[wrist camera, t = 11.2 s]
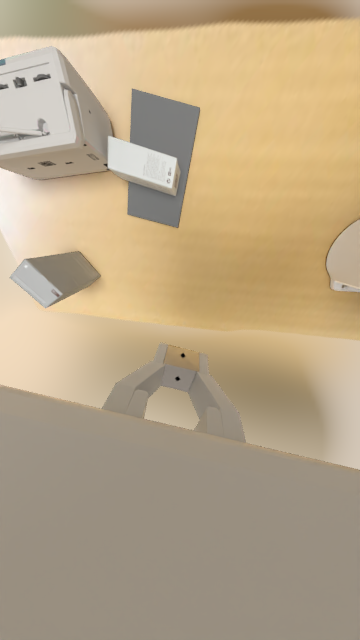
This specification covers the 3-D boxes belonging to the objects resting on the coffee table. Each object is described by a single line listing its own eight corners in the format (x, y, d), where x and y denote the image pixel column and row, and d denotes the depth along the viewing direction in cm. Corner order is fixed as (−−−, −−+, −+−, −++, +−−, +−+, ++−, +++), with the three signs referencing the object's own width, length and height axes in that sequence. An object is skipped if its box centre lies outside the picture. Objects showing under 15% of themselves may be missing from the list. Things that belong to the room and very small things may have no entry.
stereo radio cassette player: (112, 115, 28) (-31, -82, 10) (123, 175, 32) (33, 104, 14) (16, 133, 30) (-226, -1, 13) (37, 186, 34) (-125, 137, 17)
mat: (199, 110, 26) (199, 107, 26) (177, 227, 35) (177, 227, 35) (133, 91, 26) (132, 88, 25) (128, 214, 35) (127, 214, 34)
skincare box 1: (66, 263, 43) (4, 277, 29) (81, 248, 40) (20, 256, 26) (89, 288, 46) (42, 311, 32) (104, 276, 43) (60, 295, 30)
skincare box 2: (178, 156, 25) (106, 133, 24) (172, 189, 27) (106, 168, 26) (181, 170, 30) (122, 152, 29) (176, 197, 32) (121, 180, 32)
